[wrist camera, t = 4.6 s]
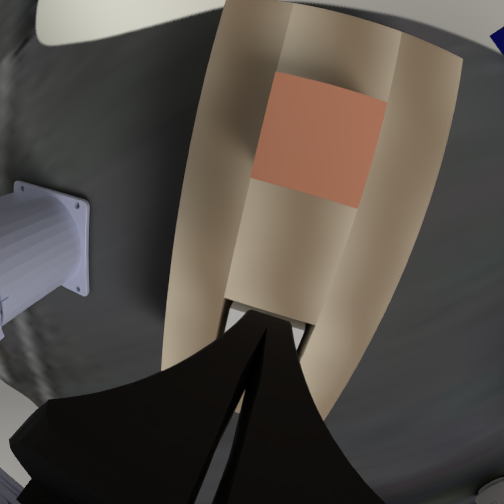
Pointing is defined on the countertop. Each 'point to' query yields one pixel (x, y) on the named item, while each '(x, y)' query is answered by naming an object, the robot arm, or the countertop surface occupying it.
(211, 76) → the button block
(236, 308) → the matte grey cube
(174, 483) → the robot arm
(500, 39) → the blue angular block
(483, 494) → the energy drink can
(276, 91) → the orange block
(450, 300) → the countertop surface
